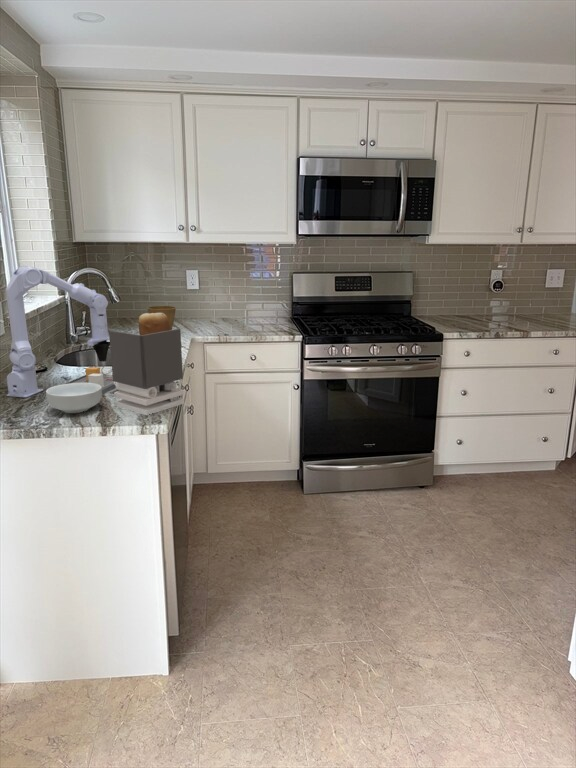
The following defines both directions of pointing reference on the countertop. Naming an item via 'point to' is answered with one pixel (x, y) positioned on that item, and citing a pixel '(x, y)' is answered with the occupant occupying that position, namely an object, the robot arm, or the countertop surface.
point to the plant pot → (164, 312)
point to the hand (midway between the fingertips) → (102, 361)
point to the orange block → (92, 371)
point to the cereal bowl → (74, 396)
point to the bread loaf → (153, 323)
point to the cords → (85, 376)
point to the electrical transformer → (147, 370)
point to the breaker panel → (99, 381)
